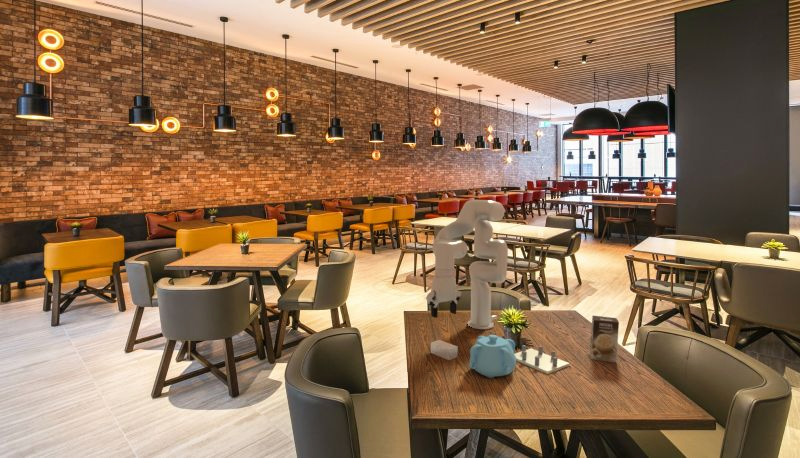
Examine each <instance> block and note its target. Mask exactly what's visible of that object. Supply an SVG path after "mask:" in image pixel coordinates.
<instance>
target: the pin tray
mask: <svg viewBox="0 0 800 458" xmlns="http://www.w3.org/2000/svg"><path fill="white" fill-rule="evenodd" d="M537 348H538V350H537V349H533V348H529V349H527V346H526V345H524V344H523V345H521V351H519V352H514V355H515V357H516V362H518V363H520V364H522V365H525V366H528V367H530V368H532V369H535V370H537V371H539V372H541V373H543V374H547V375H549V374H551V373H554V372H557V371H559V370H563V369H565V368H567V367H569V366H570V363H569V362H567V361H565V360H562V359H560V358H558V357H556V356H557V354H556V350H551V351H550V353H551V354H550V355H549V354H546V353H544V350H543V348H544V347H543V346H542V345H538V347H537Z"/></svg>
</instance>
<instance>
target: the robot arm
mask: <svg viewBox="0 0 800 458" xmlns="http://www.w3.org/2000/svg"><path fill="white" fill-rule="evenodd" d="M504 215H505V207H504V206H503V204H502V203H501V202H498V201H495V200H489V199H488V200H487V199H471V200H467V201H466V202H465V203H464V204H463V206H462V208H461V210H460V212H459V214H458V216H457V217H456V219H455V220H454V221H452V222H451V223H449V224H447V225H446V226H444V227H442V229H440V230H439V231H438V232H437V234H436V237H435V239H433V244H432V252H433V254H434V255H435V257H434V259H435V261H434V263H435V264H434V276H433V278H432V280H431V281H432V282H431V286H430V287H431V288H430V293H429V294H428V295H427V296H426V297H425V299H426V302H427V304H428V305H429V307H430V316H431V318H435V319H438V313H439V312H438V311H439V309H438V307H437V306H438V305H439V304H440V303H445V302H450V303H449V312H450V314H454V315H457V305H458V303H459V301H460V299H461V296H462V292H461V291H460V290H458V289H457V282H456V281H457V280H456V275H455V272H456V269H455V259H462V258H464V257H465V256H466V255H467V253H468V249H469V248H468V245H467V243H466V242H465V241H464V240H461V239H455V238H460V237H462V236H466V235H469V234H471V233H472V232H473V231H474V238H473V239H474V241H473V242H474V243H473V253H474V256H475V257H476V258H478V259H479V258H480V259H487V260H493V261H494V260H495V261H494V262H492V261H483V260H478V261H474V262H471V264H470V265H469V278H470V320H468V321H467V324H468V325H467V326H468V327H469V326H470V328H471V327H472V328H471V329H476V330H489V329H492V328H494V326H495V325H494V322H493V321H494V320H496V319H498V316H497V315H495V314H494V315H491V314H492V313H491V311H492V307H491V306H492V290H491V287H490V284H488V283H493V284H502V283H504V282H505V281H506V278H507V273H508V272H507V271H508V256H509V255H508V254H509V253H508V251H509V250H508V249H509V248H508V245H507V243H506V241H504V240H502V239H494V238H493V234H494V233H493V232H494V229H493V226H492V224H491V222H500V221H502V220H503V219H504Z"/></svg>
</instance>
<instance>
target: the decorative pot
mask: <svg viewBox="0 0 800 458" xmlns="http://www.w3.org/2000/svg"><path fill="white" fill-rule="evenodd" d="M475 341H476V342H474V343H475V344H474V345H472V346H471V348H470V349H469V354H470V357H469V363H468V366H469V369H472V370H475V372H477V373H479V374H480V375H483V376H485V377H487V378H488V379H493V378H495V377H503V376H508V375H509V374H511V373H512V372H513V371H514V370H515V368H516V366H517V361H516V357H515V355H514V354H515V348H516V343H515V341H514V340H512V339H510V338H506V339H505V338H503V337H501V336H498V335H495V334H490V335H488V336H485V335H479V336H478V337H477V338H476V340H475Z"/></svg>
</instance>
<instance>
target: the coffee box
mask: <svg viewBox="0 0 800 458" xmlns="http://www.w3.org/2000/svg"><path fill="white" fill-rule="evenodd" d="M619 324H620V323H619V320H618V319H617V318H616V317H608V316H600V315H599V316H598V315H592V316H591V331H590V348H589V349H590V350H589V356H590V358H591V359H590V360H595V361H604V362H610V363H612V362H613V363H617V360H618V359H617V355H618V344H619V343H618V341H619V340H618V339H619V329H620V328H619V327H620V325H619Z"/></svg>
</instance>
